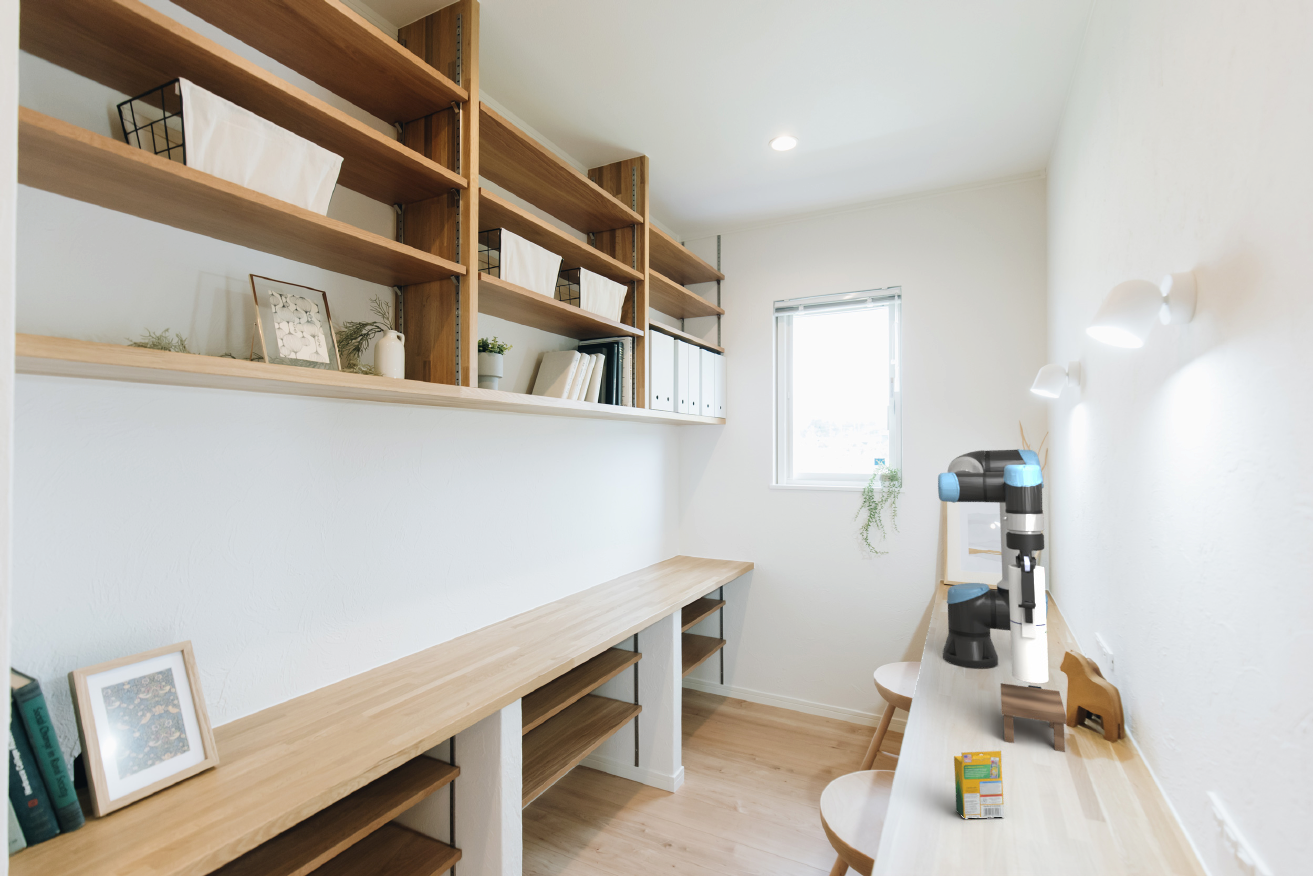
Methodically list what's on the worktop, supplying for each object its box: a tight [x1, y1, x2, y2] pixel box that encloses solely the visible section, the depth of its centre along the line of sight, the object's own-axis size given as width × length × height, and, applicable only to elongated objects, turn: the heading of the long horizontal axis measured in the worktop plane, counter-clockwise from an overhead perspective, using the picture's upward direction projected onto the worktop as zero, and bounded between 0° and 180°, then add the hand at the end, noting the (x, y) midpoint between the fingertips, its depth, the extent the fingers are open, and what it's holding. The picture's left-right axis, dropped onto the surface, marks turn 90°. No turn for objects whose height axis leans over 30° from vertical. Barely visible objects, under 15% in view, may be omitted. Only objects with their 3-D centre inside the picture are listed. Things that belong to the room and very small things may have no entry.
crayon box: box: [953, 750, 1005, 818], centre depth 111 cm, size 7×3×12 cm, turn 92°
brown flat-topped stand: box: [1000, 682, 1067, 753], centre depth 142 cm, size 15×12×8 cm
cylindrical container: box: [1008, 564, 1050, 684], centre depth 143 cm, size 7×7×25 cm
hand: (1028, 632), depth 143 cm, fingers closed on cylindrical container, 7 cm apart
